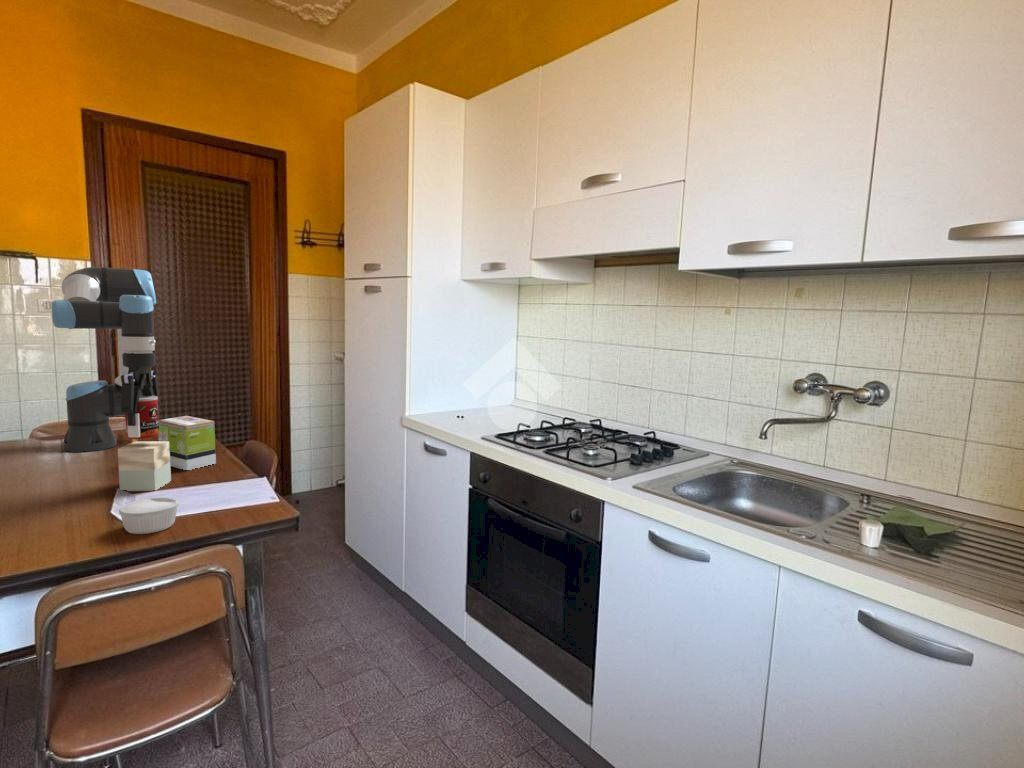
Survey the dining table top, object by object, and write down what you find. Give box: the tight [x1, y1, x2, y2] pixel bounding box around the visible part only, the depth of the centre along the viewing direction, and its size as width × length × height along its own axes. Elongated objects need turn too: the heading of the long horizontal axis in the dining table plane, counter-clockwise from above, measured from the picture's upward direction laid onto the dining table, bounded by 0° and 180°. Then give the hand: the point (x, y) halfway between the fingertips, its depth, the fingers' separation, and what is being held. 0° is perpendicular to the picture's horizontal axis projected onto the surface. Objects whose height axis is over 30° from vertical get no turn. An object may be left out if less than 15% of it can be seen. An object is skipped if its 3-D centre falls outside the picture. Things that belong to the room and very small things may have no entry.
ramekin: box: [118, 497, 179, 535], centre depth 126 cm, size 11×11×5 cm
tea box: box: [157, 415, 217, 471], centre depth 177 cm, size 15×10×15 cm
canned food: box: [124, 395, 160, 440], centre depth 153 cm, size 8×8×11 cm
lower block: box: [118, 462, 172, 492], centre depth 155 cm, size 9×9×6 cm
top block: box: [117, 440, 170, 472], centre depth 154 cm, size 9×9×6 cm
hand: (142, 433), depth 153 cm, fingers closed on canned food, 8 cm apart
